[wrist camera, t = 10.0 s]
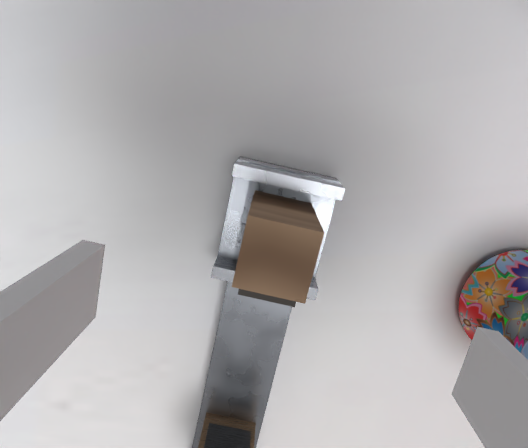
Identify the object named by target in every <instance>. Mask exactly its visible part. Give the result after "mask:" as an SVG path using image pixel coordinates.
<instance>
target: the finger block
mask: <svg viewBox="0 0 528 448" xmlns="http://www.w3.org/2000/svg"><path fill="white" fill-rule="evenodd" d="M323 236H324V231H323V228H322V226H321V224H320V222H319V219H318V217H317V215H316V213H315V210H314V208H313V206H312V204H311V203H308V202H304V201H299V200H295V199H291V198H286V197H282V196H278V195H274V194H269V193H265V192H261V191H256V190H255V192H254V196H253V199H252V203H251V206H250V210H249V213H248V217H247V221H246V226H245V230H244V235H243V239H242V243H241V248H240V252H239V257H238V261H237V265H236V270H235V274H234V279H233V283H232V287H234V288H238V289H239V290H238V295H242V296H247V297H251V298H256V299H260V300H264V301H269V302H273V303H278V304H282V305H287V306H291V307H295V303H296V302H300V303H305V302H306V298H307V294H308V291H309V287H310V284H311V280H312V276H313V273H314V269H315V265H316V262H317V258H318V255H319V251H320V247H321V244H322V240H323Z"/></svg>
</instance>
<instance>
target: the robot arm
mask: <svg viewBox="0 0 528 448" xmlns="http://www.w3.org/2000/svg"><path fill="white" fill-rule="evenodd" d="M104 249H105V245H103V244H99V243H94V242H90V241H85V240H82V241H80V242H79V243H77V244H76V245H74V246H72V247H71V248H69V249H68V250H66V251H65V252H63V253H61V254H60V255H58V256H57V257H55V258H53V259H52V260H50V261H49V262H47V263H45V264H44V265H42V266H41V267H39V268H37V269H36V270H34V271H33V272H31V273H30V274H28V275H26V276H25V277H23V278H22V279H20V280H18V281H17V282H15V283H14V284H12V285H10V286H9V287H7V288H6V289H4V290H2V291H1V292H0V421H1V420H2V419H3V418H4V417H5V415H6V414H7V413H8V412H9V411H10V410H11V409H12V408H13V407H14V406H15V404H16V403H17V402H18V401H19V400H20V399H21V398H22V397H23V396H24V395H25V394H26V392H27V391H28V390H29V389H30V388H31V387H32V386H33V385H34V384H35V383H36V382H37V380H38V379H39V378H40V377H41V376H42V375H43V374H44V373H45V372H46V371H47V369H48V368H49V367H50V366H51V365H52V364H53V363H54V362H55V361H56V360H57V359H58V357H59V356H60V355H61V354H62V353H63V352H64V351H65V350H66V349H67V348H68V347H69V345H70V344H71V343H72V342H73V341H74V340H75V339H76V338H77V337H78V336H79V334H80V333H81V332H82V331H83V330H84V329H85V328H86V327H87V326H88V325H89V324H90V322H91V321H92V320H93V319H94V318H95V316H96V309H97V301H98V294H99V286H100V279H101V271H102V264H103V256H104ZM452 396H453V397H454V399H455V400H456V402H457V404H458V405H459V407H460V408H461V410H462V412H463V413H464V415H465V416H466V418H467V420H468V421H469V423H470V424H471V426H472V427H473V429H474V431H475V432H476V434H477V435H478V437H479V439H480V440H481V442H482V443H483V445H484V447H485V448H528V359H526V358H525V357H524V356H523V355H522V354H521V353H520V352H519V351H518V350H517V349H516V348H515V347H514V346H513V345H512V344H511V343H510V342H509V341H508V340H507V339H506V338H505V337H504V336H503V335H502V334H501V333H500V332H499V331H494V330H490V329H485V328H481V327H477V329H476V332H475V334H474V337H473V339H472V342H471V345H470V347H469V350H468V352H467V355H466V358H465V360H464V363H463V366H462V368H461V371H460V373H459V376H458V379H457V381H456V384H455V386H454V389H453V392H452Z"/></svg>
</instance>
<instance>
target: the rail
mask: <svg viewBox="0 0 528 448" xmlns="http://www.w3.org/2000/svg"><path fill="white" fill-rule="evenodd" d="M232 176H234V179H233V184H232V188H231V193H230V198H229V203H228V208H227V213H226V218H225V223H224V227H223V232H222V237H221V242H220V247H219V252H218V256H217V259H216V261H215V264H214V266H213V270H212V275H211V278H216V279H220V280H225V281H228V283H227V288H226V292H225V297H224V302H223V306H222V311H221V316H220V320H219V325H218V330H217V334H216V339H215V344H214V348H213V353H212V358H211V362H210V367H209V372H208V376H207V381H206V386H205V390H204V395H203V400H202V404H201V409H200V414H199V418H198V423H197V428H196V432H195V437H194V442H193V446H192V448H256V445H257V441H258V437H259V433H260V429H261V425H262V421H263V417H264V413H265V410H266V406H267V402H268V398H269V394H270V390H271V386H272V382H273V378H274V375H275V371H276V367H277V363H278V359H279V355H280V351H281V347H282V343H283V340H284V336H285V332H286V328H287V324H288V320H289V316H290V312H291V308H292V307H291V306H287V305H282V304H278V303H273V302H269V301H264V300H260V299H256V298H251V297H247V296H242V295H238V290H239V289H238V288H234V287H232V283H233V279H234V274H235V270H236V265H237V261H238V257H239V252H240V248H241V243H242V239H243V235H244V230H245V226H246V221H247V217H248V213H249V210H250V206H251V203H252V199H253V196H254V192H255V190H256V191H261V192H265V193H269V194H274V195H278V196H282V197H286V198H291V199H295V200H299V201H304V202H308V203H311V204H312V206H313V208H314V210H315V213H316V215H317V217H318V219H319V222H320V224H321V226H322V228H323V231H324V236H323V240H322V244H321V247H320V251H319V255H318V258H317V262H316V265H315V269H314V273H313V276H312V280H311V284H310V287H309V291H308V294H307V298H308V299H313V300H315V299H316V295H317V292H318V287H317V283H316V279H315V276H316V272H317V269H318V265H319V261H320V257H321V254H322V250H323V246H324V242H325V239H326V235H327V231H328V227H329V224H330V220H331V216H332V212H333V209H334V205H335V201H336V200H341V201H342V199H343V195H344V192H345V188H344V187H343V186H342V185H341V184H340V181H339V180H338V179H336V178H332V177H328V176H323V175H319V174H315V173H310V172H306V171H301V170H297V169H292V168H288V167H284V166H279V165H275V164H270V163H266V162H261V161H257V160H253V159H248V158H244V157H239V158H238V159H237V161H236V162H235V163H234V167H233V172H232Z"/></svg>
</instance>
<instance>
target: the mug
mask: <svg viewBox="0 0 528 448" xmlns="http://www.w3.org/2000/svg"><path fill="white" fill-rule="evenodd" d="M459 316H460V320H461V324H462V326H463V328H464V330H465V332H466V334H467V335H468V336H469V337H470V339H471V340H472V339H473V337H474V334H475V332H476V329H477V327H481V328H485V329H490V330H494V331H499V332H500V333H501V334H502V335H503V336H504V337H505V338H506V339H507V340H508V341H509V342H510V343H511V344H512V345H513V346H514V347H515V348H516V349H517V350H518V351H519V352H520V353H521V354H522V355H523V356H524V357H525V358H526V359H528V250H513V251H508V252H504V253H501V254H498V255H496V256H494V257H492V258H490V259H488V260H487V261H485V262H484V263H482V264H481V265H480V266H479V267H478V268H477V269H476V270H475V271H474V272H473V273H472V274H471V275H470V277H469V278H468V279H467V281H466V283H465V285H464V287H463V289H462V292H461V295H460V299H459Z"/></svg>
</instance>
